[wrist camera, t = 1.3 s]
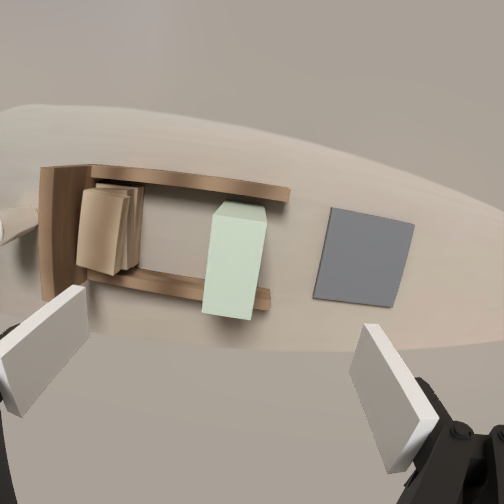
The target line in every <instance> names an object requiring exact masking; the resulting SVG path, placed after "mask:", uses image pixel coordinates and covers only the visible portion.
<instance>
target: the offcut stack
mask: <svg viewBox="0 0 504 504" xmlns="http://www.w3.org/2000/svg"><path fill="white" fill-rule="evenodd" d="M143 196H144V186H138V185H128V184H119V183H109V182H101V183H96V188H90V189H85V190H83V198H82V205H81V214H80V223H79V233H78V245H77V260H76V265H79V266H82V267H85V268H89V269H92V270H95V271H99V272H102V273H105V274H109V275H112V276H114V275H115V274H116V273H117V272H119V271H120V269H124V270H128V269H129V268H133V267H134V266H135V265H137V264H138V263H139V247H140V232H141V218H142V207H143Z"/></svg>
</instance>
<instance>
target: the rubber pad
mask: <svg viewBox="0 0 504 504" xmlns="http://www.w3.org/2000/svg"><path fill="white" fill-rule="evenodd" d="M414 226H415V225H414V224H410V223H406V222H401V221H397V220H392V219H387V218H383V217H378V216H373V215H368V214H363V213H358V212H353V211H348V210H342V209H337V208H332V207H331V211H330V216H329V221H328V227H327V232H326V237H325V241H324V246H323V251H322V256H321V260H320V265H319V270H318V274H317V279H316V283H315V287H314V292H313V298H320V299H328V300H336V301H344V302H353V303H361V304H370V305H378V306H387V307H393V305H394V302H395V298H396V295H397V292H398V288H399V285H400V281H401V278H402V274H403V271H404V267H405V263H406V259H407V256H408V252H409V248H410V244H411V239H412V235H413V231H414Z"/></svg>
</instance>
